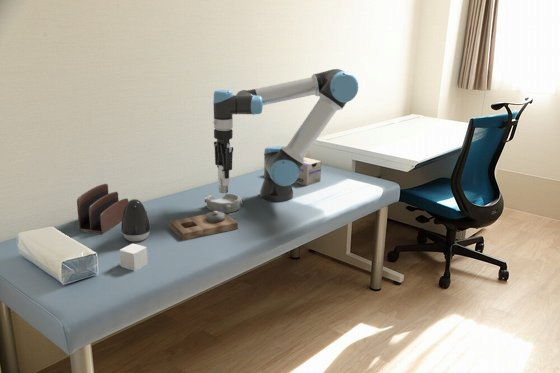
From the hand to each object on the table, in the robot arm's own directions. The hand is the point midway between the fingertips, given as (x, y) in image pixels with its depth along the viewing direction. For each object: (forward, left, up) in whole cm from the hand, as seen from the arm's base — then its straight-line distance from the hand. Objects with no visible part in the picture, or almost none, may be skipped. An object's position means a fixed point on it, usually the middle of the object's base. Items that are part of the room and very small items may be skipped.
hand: (223, 183), depth 218 cm
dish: (0, 0, -11) cm, 11 cm away
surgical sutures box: (-51, -23, -11) cm, 57 cm away
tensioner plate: (+17, +17, -11) cm, 26 cm away
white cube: (+49, +34, -11) cm, 61 cm away
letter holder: (+48, -7, -11) cm, 49 cm away
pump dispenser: (+42, +14, -11) cm, 46 cm away
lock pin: (0, 0, -3) cm, 3 cm away
